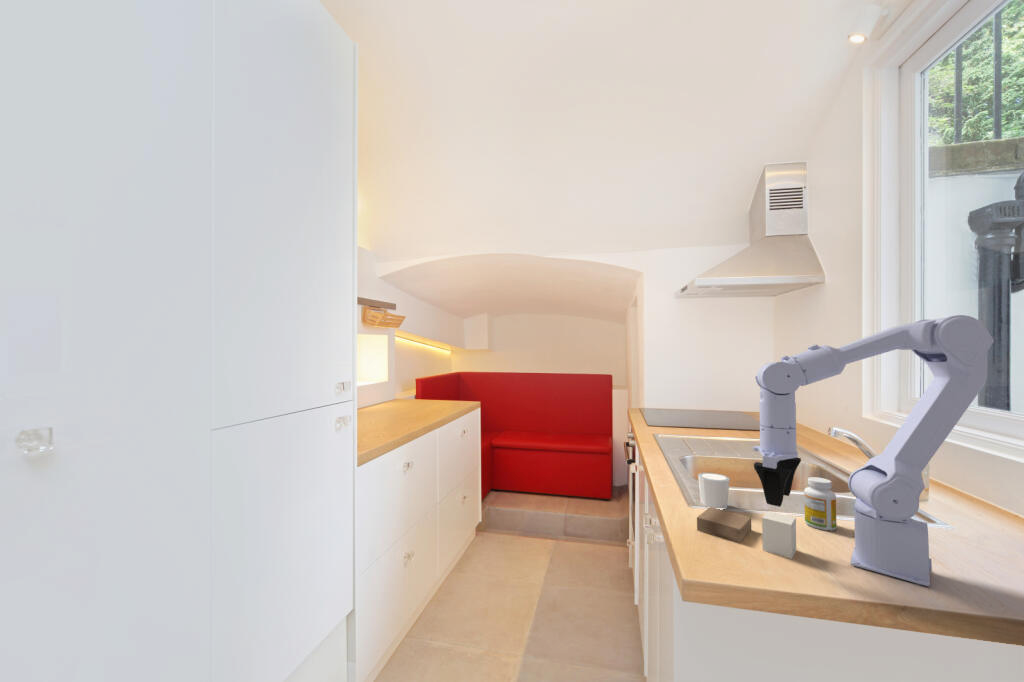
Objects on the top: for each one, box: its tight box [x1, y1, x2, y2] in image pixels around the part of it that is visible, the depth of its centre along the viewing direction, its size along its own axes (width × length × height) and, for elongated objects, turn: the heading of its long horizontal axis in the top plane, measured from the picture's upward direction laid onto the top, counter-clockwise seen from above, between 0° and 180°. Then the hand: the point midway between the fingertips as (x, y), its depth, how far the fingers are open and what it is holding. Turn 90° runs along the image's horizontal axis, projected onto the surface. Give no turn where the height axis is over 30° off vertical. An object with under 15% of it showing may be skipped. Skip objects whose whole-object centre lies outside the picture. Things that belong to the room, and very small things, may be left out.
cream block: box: [761, 510, 797, 560], centre depth 75 cm, size 4×4×6 cm
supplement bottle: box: [803, 476, 838, 531], centre depth 86 cm, size 5×5×10 cm
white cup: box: [697, 472, 730, 508], centre depth 96 cm, size 7×7×7 cm
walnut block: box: [696, 507, 752, 544], centre depth 83 cm, size 8×8×3 cm
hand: (778, 499), depth 75 cm, fingers open, 7 cm apart
